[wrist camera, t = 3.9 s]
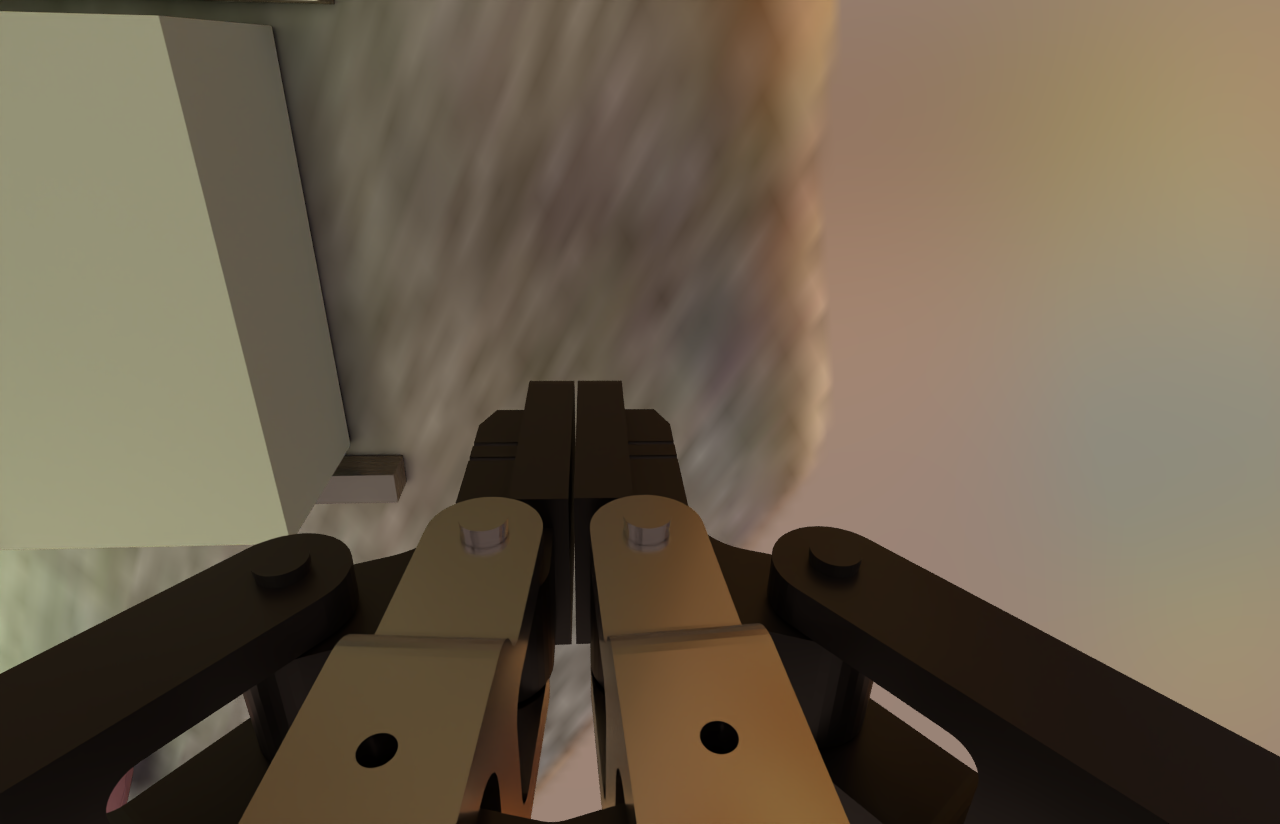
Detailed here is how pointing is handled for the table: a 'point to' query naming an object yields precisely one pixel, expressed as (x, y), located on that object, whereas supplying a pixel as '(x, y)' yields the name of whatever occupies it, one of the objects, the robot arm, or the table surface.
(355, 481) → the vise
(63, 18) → the sliding jaw
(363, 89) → the table surface
